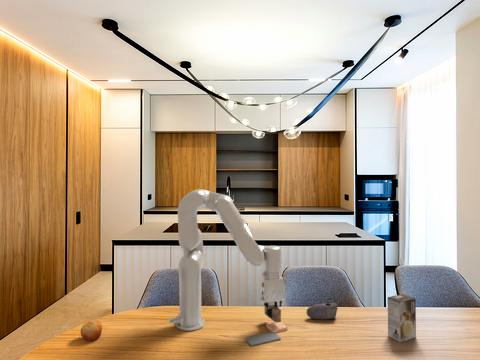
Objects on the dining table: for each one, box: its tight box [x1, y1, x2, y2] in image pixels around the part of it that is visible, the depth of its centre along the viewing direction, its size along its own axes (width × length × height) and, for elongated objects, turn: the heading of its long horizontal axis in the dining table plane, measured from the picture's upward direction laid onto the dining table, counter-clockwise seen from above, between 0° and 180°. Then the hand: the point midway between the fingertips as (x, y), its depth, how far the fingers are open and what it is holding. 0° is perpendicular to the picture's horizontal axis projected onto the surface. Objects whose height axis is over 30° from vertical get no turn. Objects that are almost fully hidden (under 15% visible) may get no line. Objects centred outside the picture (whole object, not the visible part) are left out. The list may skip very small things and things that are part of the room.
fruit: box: [80, 319, 103, 342], centre depth 133 cm, size 8×8×8 cm
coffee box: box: [387, 293, 417, 343], centre depth 134 cm, size 9×6×16 cm
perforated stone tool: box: [306, 302, 338, 320], centre depth 152 cm, size 15×5×7 cm, turn 90°
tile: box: [265, 321, 289, 334], centre depth 141 cm, size 7×2×6 cm
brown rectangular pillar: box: [264, 302, 282, 323], centre depth 145 cm, size 2×10×5 cm, turn 24°
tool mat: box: [244, 331, 281, 347], centre depth 132 cm, size 13×6×1 cm, turn 114°
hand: (272, 315), depth 145 cm, fingers closed on brown rectangular pillar, 2 cm apart
